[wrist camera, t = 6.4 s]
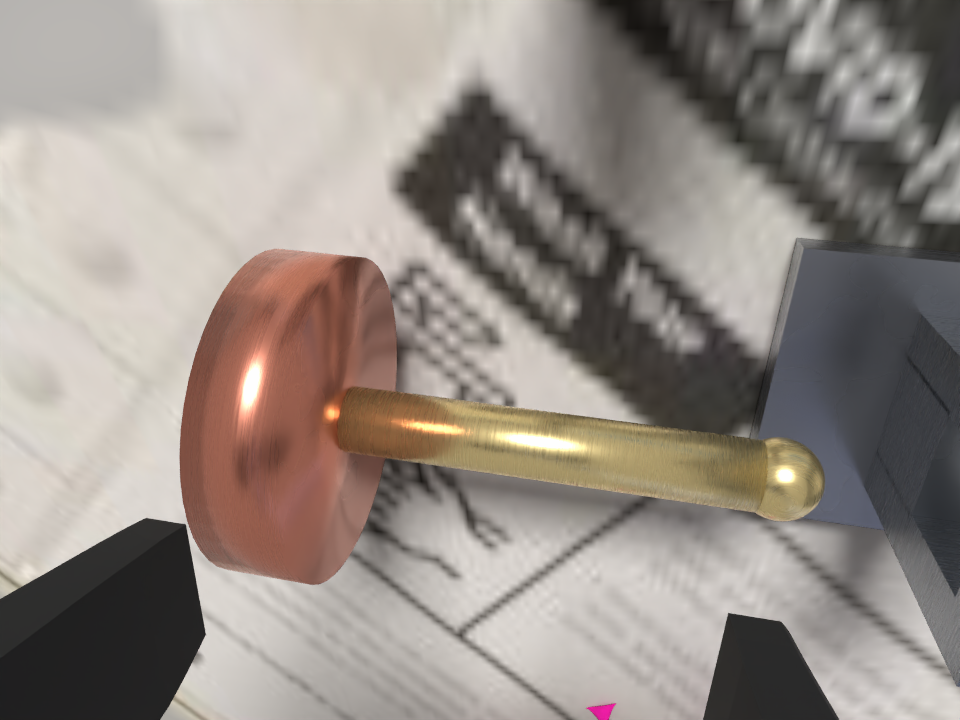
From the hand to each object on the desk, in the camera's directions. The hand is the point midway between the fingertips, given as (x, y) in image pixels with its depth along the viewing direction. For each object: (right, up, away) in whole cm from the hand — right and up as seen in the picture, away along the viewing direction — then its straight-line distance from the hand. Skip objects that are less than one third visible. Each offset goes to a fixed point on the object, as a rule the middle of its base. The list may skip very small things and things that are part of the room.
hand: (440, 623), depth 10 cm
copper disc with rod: (+2, +3, +8) cm, 9 cm away
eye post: (+11, +3, +8) cm, 14 cm away
